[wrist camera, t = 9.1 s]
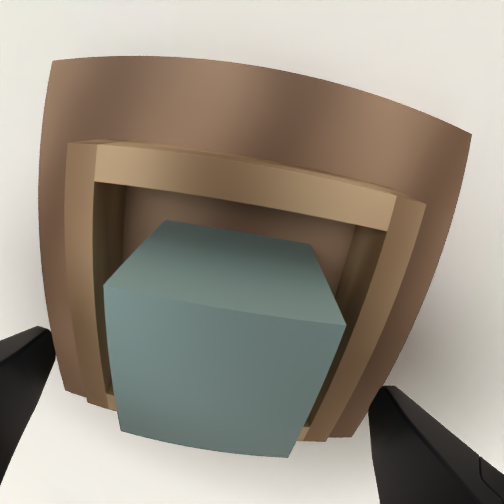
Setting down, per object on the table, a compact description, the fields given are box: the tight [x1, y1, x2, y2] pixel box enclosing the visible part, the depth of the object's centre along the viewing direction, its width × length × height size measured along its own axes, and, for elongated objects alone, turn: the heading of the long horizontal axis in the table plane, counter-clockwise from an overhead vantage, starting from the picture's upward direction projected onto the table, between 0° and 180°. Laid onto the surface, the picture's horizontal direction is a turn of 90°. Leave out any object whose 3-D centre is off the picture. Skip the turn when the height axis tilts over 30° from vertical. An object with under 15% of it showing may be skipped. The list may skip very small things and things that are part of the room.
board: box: [38, 56, 472, 442], centre depth 11 cm, size 16×16×4 cm
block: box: [103, 220, 346, 458], centre depth 9 cm, size 5×5×5 cm
